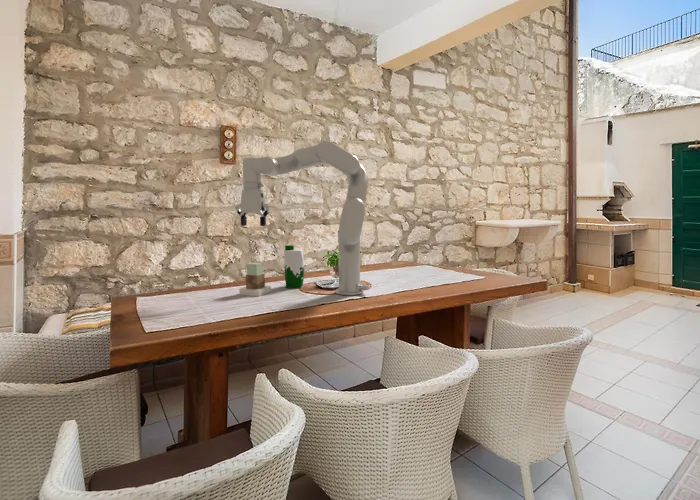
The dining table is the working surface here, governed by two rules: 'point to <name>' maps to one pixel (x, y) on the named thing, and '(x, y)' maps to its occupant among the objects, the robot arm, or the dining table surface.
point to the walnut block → (255, 281)
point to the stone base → (255, 291)
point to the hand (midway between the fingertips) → (253, 225)
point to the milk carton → (294, 267)
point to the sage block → (254, 269)
